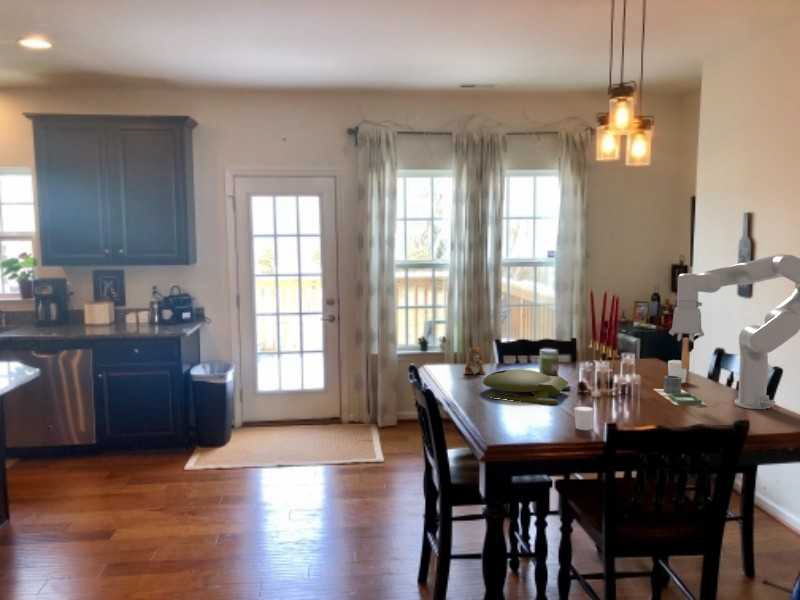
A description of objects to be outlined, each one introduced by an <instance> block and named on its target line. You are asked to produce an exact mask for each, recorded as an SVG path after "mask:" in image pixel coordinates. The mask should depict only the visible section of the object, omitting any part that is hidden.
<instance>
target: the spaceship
mask: <svg viewBox="0 0 800 600" xmlns="http://www.w3.org/2000/svg"><path fill="white" fill-rule="evenodd" d="M482 384H483V385H484V386H486V387H488V388H490V389H494V390H500V391H504V392H505V391H506V392H507V391H508V392H521V393H522V392H523V393H524V392H525V393H526V392H527V393H528V392H531V393H532V394H534V396H533V395H522V394H511V393H499V392H491V393H488V395H487V396H489V397H492V398H500V399H507V400H513V401H512V402H516V401H521V402H520V403H526V402H529V403H528V404H535V403H538V404H537V405H545V404H548V406H556V405H558V403H559V400H558V399H556V398H553V396H556V395H557V394H559V393H561V392H562V391H563V392H567V391H568V390H569V391H570V390H571V389H572V388H571V387H572V386H571V385H568V384H569V382H568V381H567V380H566V379H564V378H563V377H562V376H558V375H557V376H554V375H547V374H545V373H542V372H539V371H536V370H531V369H521V368H520V369H518V368H517V369H516V368H513V369H512V368H511V369H502V370H499V371H495V372H492V373H490V374H488V375H487V376H485V377H484V378H483V381H482ZM489 397H488V398H489ZM551 397H552V398H551Z"/></svg>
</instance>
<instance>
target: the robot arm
mask: <svg viewBox="0 0 800 600" xmlns="http://www.w3.org/2000/svg"><path fill="white" fill-rule="evenodd" d="M777 278H785V279H788V280H789V281H792V282H793V283H794V291H793V292H792V294H791V295H790V296H789V297H787V298H786V299H785V300H784V301H782V302H781V303H780V304H778V305H777V306H776V307H774V308H773V309H771V310H769V312H768V313H766V315H765V317H764V324H763V325H762V326H761V325H758V324H757V325H755V324H752V325H751V324H750V325H746V326H745V327H743V328H742V329H741V330H740V333H739V336H738V346H739V347H738V348H739V373H738V377H739V378H738V397H737V398H736V399H734V400H733V404H734V405H735V406H737V407H739V408H745V409H748V410H749V409H750V410H766V409H767V408H768V409H770V408H771V407H774V406H775V404H776V401H775V400H773V399H770V395H767V387H768V384H767V383H768V365H769V361H768V360H769V357H768V356H769V355H768V354H770V353H771V352H773V351H775V350H776V349H778V348H779V347H781V346H782V345H783V344H784V343H786V342H788V341H789V340H790V339H792V338H793V337H794V336H795V335H797V334H798V333H799V331H800V258H799V257H797V256H796V255H792V254H784V253H781V254H776V255H771V256H767V257H766V256H765V257H762V258H758V259H755V260H750V261H746V262H741V263H737V264H734V265H729V266H724V267H719V268H716V269H710V270H706V271H703V272H700V273H699V274H697V273H690V272H688V273H680V274H679V275H678V277H677V293H676V295H677V296H676V297H677V299H676V307H675V308H674V311H673V316H672V317H673V318H672V326H671V328H670V330H668V334H669V335H671V336H672V337H674V338H675V339H676V340H677V341H678V342H677V344H678V345H677V349H679V352H682V338H683V334H688V335H690V336H689V338H690V342H689V352H693V350H694V349H695V346H694V345H695V341H696V340H697V339H699V338H701V337H704V336H705V333H704V330H703V329H702V312H701V309H700V308H699V307H702V305H703V302H701V301H699V292H701V293H708V294H711V293H712V294H713V293H717V292H718V291H720V289H721V288H723V287H727V286H734V285H735V286H736V285H743V286H744V285H752V284H756V283H760V282H764V281H768V280H773V279H777ZM768 409H767V410H768Z"/></svg>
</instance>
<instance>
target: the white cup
mask: <svg viewBox="0 0 800 600" xmlns="http://www.w3.org/2000/svg"><path fill="white" fill-rule="evenodd" d="M667 363H668V365H667V366H668V367H667V369H668V373H667V374H668V376H679V377H681V384H685V383H686V378H687V371H688V369H682V368H681V363H682V360H679V359H677V360H676V359H671V360H668V361H667Z"/></svg>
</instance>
